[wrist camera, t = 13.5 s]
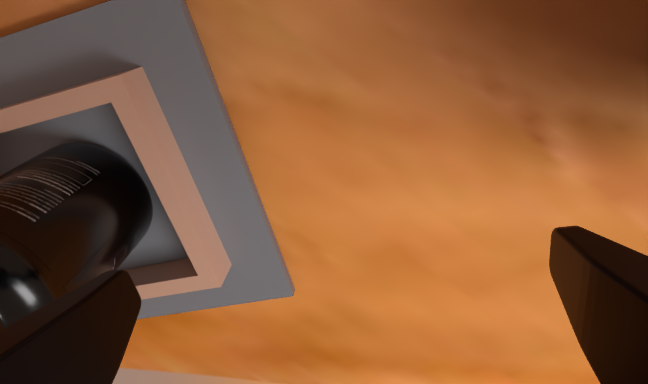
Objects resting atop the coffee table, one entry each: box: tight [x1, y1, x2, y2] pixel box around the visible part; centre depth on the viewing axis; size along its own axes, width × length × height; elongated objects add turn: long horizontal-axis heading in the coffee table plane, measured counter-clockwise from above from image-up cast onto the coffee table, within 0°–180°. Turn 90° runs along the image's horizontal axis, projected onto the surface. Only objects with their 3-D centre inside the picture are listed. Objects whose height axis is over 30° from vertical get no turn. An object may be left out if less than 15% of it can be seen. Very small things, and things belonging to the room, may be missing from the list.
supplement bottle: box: [0, 143, 153, 330], centre depth 18 cm, size 7×7×12 cm
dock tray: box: [0, 0, 295, 319], centre depth 23 cm, size 18×18×3 cm
